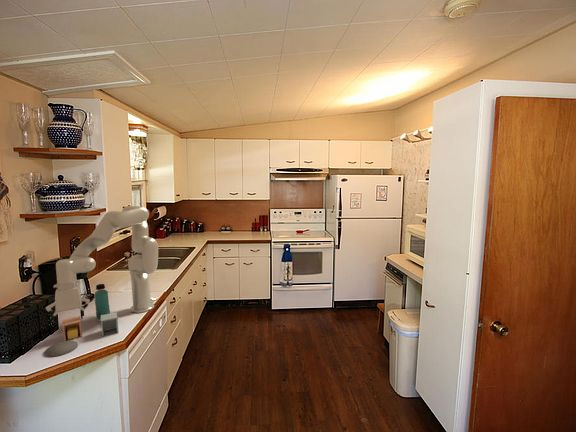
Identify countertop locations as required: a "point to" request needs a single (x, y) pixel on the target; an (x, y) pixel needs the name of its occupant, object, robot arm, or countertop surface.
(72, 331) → the mustard cube
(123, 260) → the countertop surface
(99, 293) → the beverage bottle
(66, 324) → the rust cover
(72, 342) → the charcoal mat
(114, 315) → the slate cover
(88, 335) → the countertop surface
